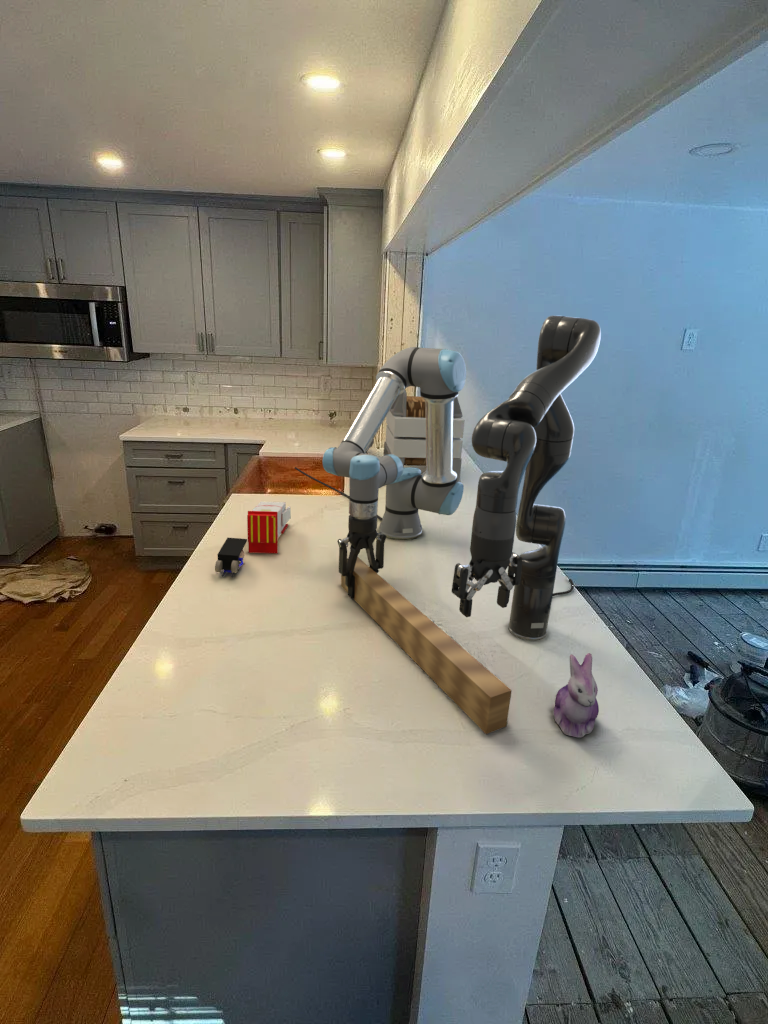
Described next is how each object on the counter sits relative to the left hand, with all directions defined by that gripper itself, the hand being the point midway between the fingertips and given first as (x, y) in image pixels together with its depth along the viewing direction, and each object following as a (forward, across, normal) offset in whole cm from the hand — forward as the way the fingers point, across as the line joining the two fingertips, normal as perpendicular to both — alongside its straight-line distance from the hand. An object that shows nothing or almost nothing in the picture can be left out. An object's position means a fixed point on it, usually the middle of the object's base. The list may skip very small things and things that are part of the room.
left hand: (360, 594), depth 156 cm
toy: (+1, -10, +50) cm, 51 cm away
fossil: (+1, +70, +140) cm, 157 cm away
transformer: (+1, +81, +100) cm, 129 cm away
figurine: (+1, +15, -64) cm, 65 cm away
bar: (+1, 0, -26) cm, 26 cm away
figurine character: (+1, -27, +30) cm, 41 cm away
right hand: (-22, 0, -51) cm, 55 cm away
